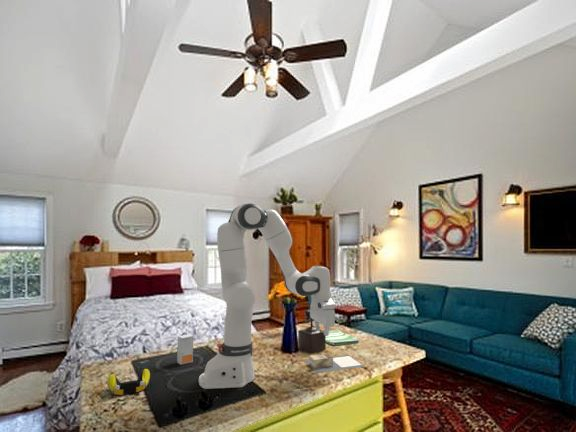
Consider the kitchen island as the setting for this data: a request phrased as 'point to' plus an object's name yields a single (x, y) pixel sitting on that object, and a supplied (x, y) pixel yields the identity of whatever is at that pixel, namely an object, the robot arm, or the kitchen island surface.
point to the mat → (338, 364)
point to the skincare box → (185, 349)
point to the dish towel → (340, 338)
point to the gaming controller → (128, 384)
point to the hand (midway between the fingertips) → (321, 332)
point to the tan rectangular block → (321, 360)
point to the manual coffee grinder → (311, 337)
